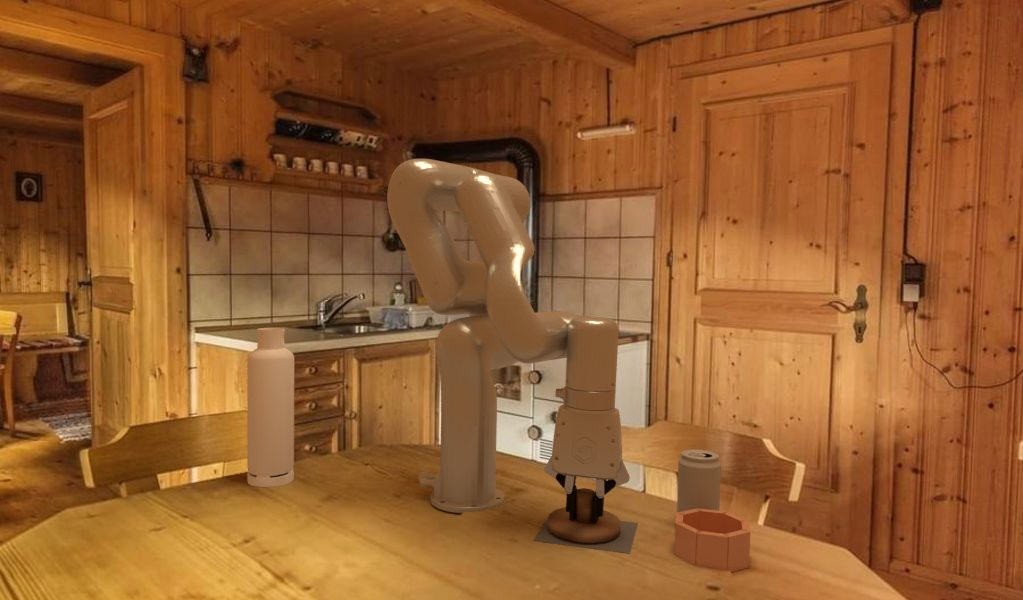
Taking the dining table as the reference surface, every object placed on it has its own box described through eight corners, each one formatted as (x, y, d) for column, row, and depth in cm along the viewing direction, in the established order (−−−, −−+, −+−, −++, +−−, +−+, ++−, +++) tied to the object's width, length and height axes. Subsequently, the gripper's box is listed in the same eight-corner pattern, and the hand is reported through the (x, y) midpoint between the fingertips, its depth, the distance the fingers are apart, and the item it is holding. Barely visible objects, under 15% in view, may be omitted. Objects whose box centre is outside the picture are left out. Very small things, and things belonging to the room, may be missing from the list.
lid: (540, 536, 101) (541, 498, 101) (555, 510, 112) (557, 476, 112) (615, 547, 98) (617, 508, 98) (624, 519, 109) (626, 484, 109)
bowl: (673, 566, 95) (674, 530, 94) (676, 538, 104) (677, 506, 104) (750, 576, 92) (751, 539, 92) (745, 547, 102) (747, 513, 101)
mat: (533, 544, 101) (533, 540, 101) (550, 515, 113) (550, 512, 113) (629, 557, 97) (629, 553, 97) (637, 526, 109) (637, 522, 109)
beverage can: (720, 539, 105) (723, 460, 104) (676, 534, 106) (679, 457, 105) (716, 523, 111) (719, 449, 110) (675, 519, 112) (678, 446, 111)
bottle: (285, 487, 124) (285, 331, 122) (240, 486, 124) (240, 330, 122) (299, 473, 132) (300, 327, 130) (257, 472, 132) (257, 326, 130)
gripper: (531, 398, 102) (526, 520, 104) (642, 409, 98) (635, 536, 99) (542, 389, 110) (537, 503, 111) (646, 399, 105) (640, 517, 107)
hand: (584, 517), depth 105 cm, fingers closed on lid, 2 cm apart
